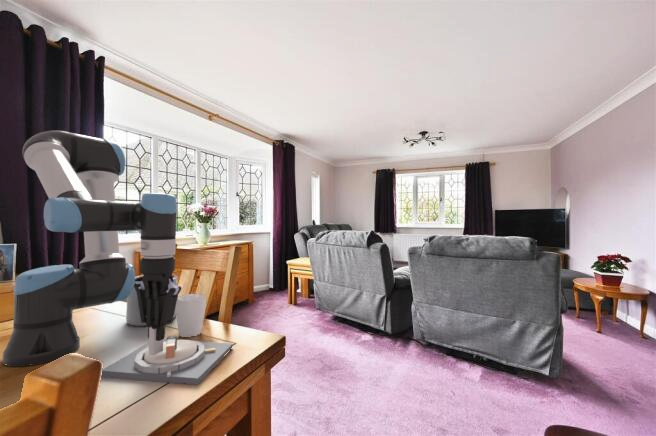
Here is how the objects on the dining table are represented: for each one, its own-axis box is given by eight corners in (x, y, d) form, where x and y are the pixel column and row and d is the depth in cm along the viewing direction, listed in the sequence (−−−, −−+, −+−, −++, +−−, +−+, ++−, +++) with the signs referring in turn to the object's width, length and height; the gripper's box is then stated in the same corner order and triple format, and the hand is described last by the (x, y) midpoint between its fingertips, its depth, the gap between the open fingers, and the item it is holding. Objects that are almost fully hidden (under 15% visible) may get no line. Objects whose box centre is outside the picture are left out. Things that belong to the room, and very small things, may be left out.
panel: (98, 378, 70) (99, 365, 70) (155, 343, 89) (155, 333, 89) (196, 386, 67) (196, 373, 67) (232, 348, 87) (232, 338, 87)
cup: (168, 338, 93) (169, 299, 93) (186, 327, 102) (187, 292, 102) (194, 340, 92) (195, 301, 92) (210, 330, 101) (211, 294, 101)
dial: (147, 350, 80) (148, 332, 80) (196, 344, 85) (196, 326, 85) (140, 372, 69) (141, 350, 70) (196, 363, 74) (197, 342, 74)
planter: (186, 315, 115) (187, 275, 115) (153, 330, 100) (154, 283, 100) (151, 311, 119) (152, 272, 119) (114, 325, 103) (115, 280, 103)
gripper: (124, 256, 72) (121, 354, 72) (165, 260, 67) (163, 364, 67) (151, 253, 79) (149, 342, 79) (190, 256, 74) (188, 350, 74)
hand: (155, 352), depth 73 cm, fingers closed
